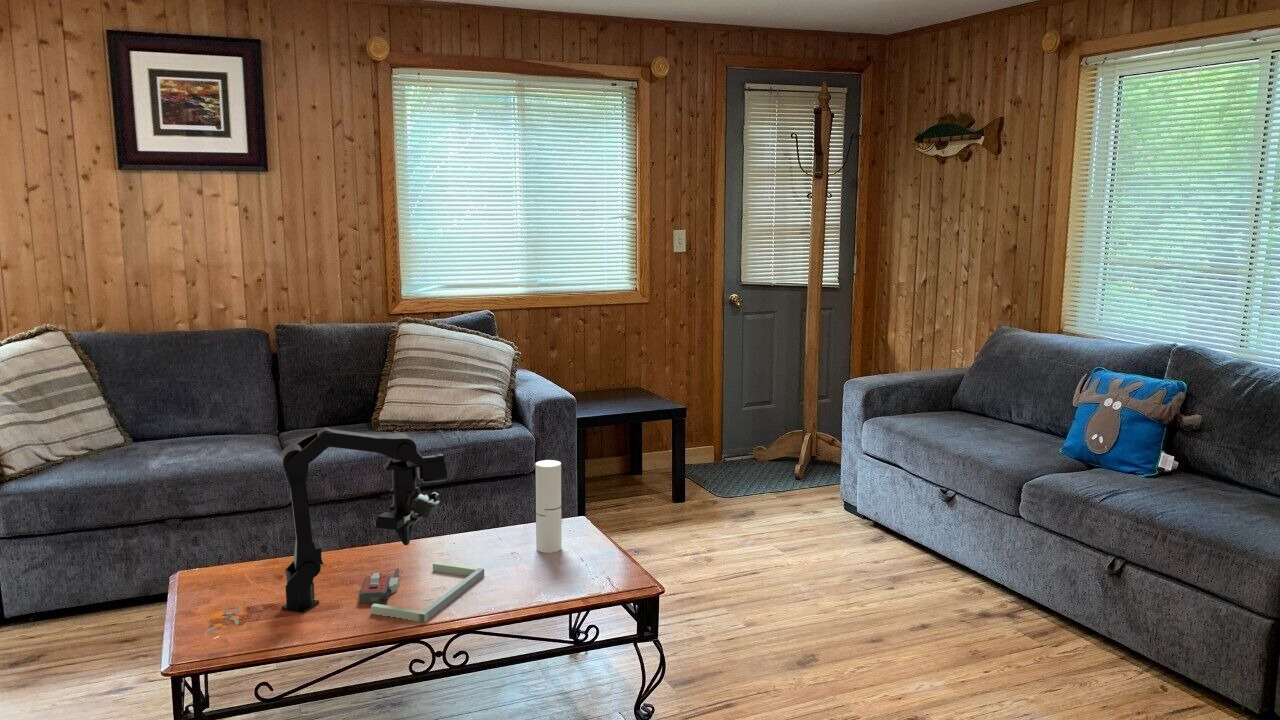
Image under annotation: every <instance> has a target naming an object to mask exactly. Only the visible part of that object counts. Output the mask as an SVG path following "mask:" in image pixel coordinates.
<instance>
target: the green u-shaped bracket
mask: <svg viewBox="0 0 1280 720" xmlns="http://www.w3.org/2000/svg"><path fill="white" fill-rule="evenodd" d="M432 571H433V572H437V573H445V574H453V575H460V576H466V577H465V578H464V579H462V580H460V581H459V583H457V584H456V585H454V586H453V587H452V588H451V589H450V590H448V591H447V592H445V593H444V594H443V595H441V596H440V597H438V598H437V599H436V600H435V601H434V602H432V603H431V604H430V605H428V606H427V607H426V608H424V609H423V610H418V609H412V608H404V607H398V606H392V605H386V604H381V603H372V605H371V606H370V614H371V615H376V616H381V615H382V616H383V617H387V616H390V617H389V618H393V617H396V618H395V619H399V618H402V619H401V620H406V619H408V621H412V620H413V622H418V623H424V624H425V623H426V622H427V621H429V620H430V619H432V617H433V618H434V616H435V615H437V614H438V613H439V612H440V611H441V610H442V609H444V608H446V607H447V606H448V605H450V603H451V602H453V601H454V600H456V599H457V598H458V597H459V596H460V595H462V594H463V593H465V592H466V591H467V590H468V589H469V588H470V587H472V586H473V585H475V584H476V583H477V582H479V581H480V580H481V579H482V578H483V577H485V568H483V567H475V566H470V565H461V564H454V563H448V562H447V563H446V562H442V561H441V562H440V561H435V562H433V563H432Z"/></svg>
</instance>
